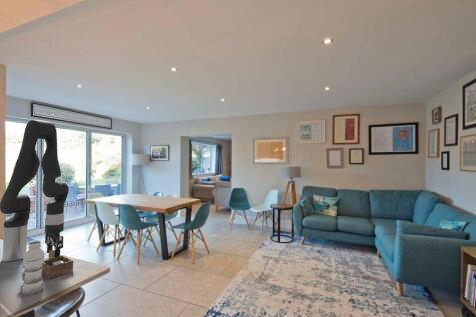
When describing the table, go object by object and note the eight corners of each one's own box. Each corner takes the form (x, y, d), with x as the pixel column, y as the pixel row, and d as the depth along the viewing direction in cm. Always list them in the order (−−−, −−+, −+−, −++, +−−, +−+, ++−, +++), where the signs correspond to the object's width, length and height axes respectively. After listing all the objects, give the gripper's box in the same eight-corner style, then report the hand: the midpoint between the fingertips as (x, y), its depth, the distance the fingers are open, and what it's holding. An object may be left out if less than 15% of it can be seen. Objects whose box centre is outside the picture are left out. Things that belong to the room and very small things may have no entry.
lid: (36, 265, 117) (36, 251, 117) (59, 259, 125) (59, 245, 125) (45, 272, 111) (46, 256, 111) (69, 264, 120) (69, 250, 120)
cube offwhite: (51, 270, 111) (51, 262, 111) (60, 267, 114) (60, 260, 114) (54, 272, 109) (55, 264, 109) (63, 269, 112) (63, 262, 112)
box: (40, 274, 108) (40, 261, 108) (62, 267, 116) (63, 255, 116) (49, 281, 103) (50, 267, 103) (72, 273, 111) (73, 260, 111)
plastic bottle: (30, 298, 90) (33, 246, 90) (16, 296, 92) (19, 244, 92) (47, 289, 97) (49, 241, 97) (34, 287, 98) (36, 239, 98)
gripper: (39, 221, 119) (38, 253, 119) (52, 226, 112) (50, 260, 111) (57, 218, 125) (55, 249, 125) (70, 223, 118) (68, 255, 118)
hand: (53, 254), depth 118 cm, fingers open, 8 cm apart
